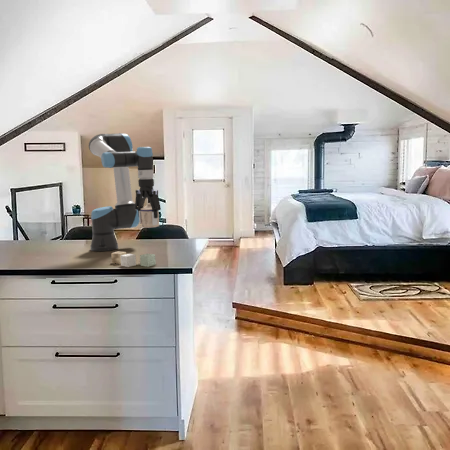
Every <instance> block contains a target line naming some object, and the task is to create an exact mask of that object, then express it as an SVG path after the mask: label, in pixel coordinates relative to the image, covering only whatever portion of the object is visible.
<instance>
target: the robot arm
mask: <svg viewBox="0 0 450 450" xmlns="http://www.w3.org/2000/svg"><path fill="white" fill-rule="evenodd" d="M131 139H132V138H131V137H130V136H129V135H128V134H127V133H120V132H119V133H99V134H96V135H94V136H93V137H92V138H91V139H90V140H89V142H88V149H89V152H90V153H91V154H92V155H93V156H97V157H99V158H100V159H101V165H102V167H103V168H105V169H106V168H110V169H113V178H114V183H115V184H114V185H115V194H116V203H115V205H114V208H113V206H111V205H110V206H109V205H108V206H103V207H102V206H101V207H97V208H95V209H93V210H92V211H91V213H90V214H91V216H90V217H91V228H92V239H91V242H90V248H89V249H90V251H92V252H109V251H114V250H117V249H119V244H118V241H117V238H116V236H115V230H121V229H131V228H137V227H138V226H139V225H142V220H141V208H143V207H145V206H144V205H145V202H146V199H147V200H148V201H149V202H148V203H150V204H151V207H152V210H153V211H152V225H157V218H158V212H160V211H161V210H162V209H161V204H160V203H161V202H160V199H159V190H158V189H154V186H155V180H154V178H155V176H154V158H153V156H154V154H153V148H152V147H150V146H139V147H137V148H136V151H133V150H134V149H133V147H134V146H133V142H132V140H131ZM129 167H132V168H133V167H137V175H138V176H137V178H138V179H137V181H138V187H139V189H135V201H134V200H133V193H132V186H131V185H132V184H131V176H130V168H129Z"/></svg>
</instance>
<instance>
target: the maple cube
mask: <svg viewBox="0 0 450 450" xmlns="http://www.w3.org/2000/svg"><path fill="white" fill-rule="evenodd" d="M125 254H127V252H126V251H115V252H112V253H110V255H111V264H115V263H116V265H121V255H125Z"/></svg>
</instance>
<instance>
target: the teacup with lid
mask: <svg viewBox="0 0 450 450" xmlns="http://www.w3.org/2000/svg"><path fill="white" fill-rule="evenodd" d="M152 211H153V210H152V207H151V204H150V202H147V204H146V205H145V206H143V208H141V220H142V224H141V227H142V228H144V229H145V228H149V229H150V228H157V227H160V217H159V216H160V214H159V212H160V211H158V218H157V225H152Z"/></svg>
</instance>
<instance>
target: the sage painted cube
mask: <svg viewBox="0 0 450 450" xmlns="http://www.w3.org/2000/svg"><path fill="white" fill-rule="evenodd" d="M139 260H140V261H139V262H140V266H142V267H146V268H148V267H152V266H155V265H157V264H156V254H154V253H145V254H141V255H139Z"/></svg>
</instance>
